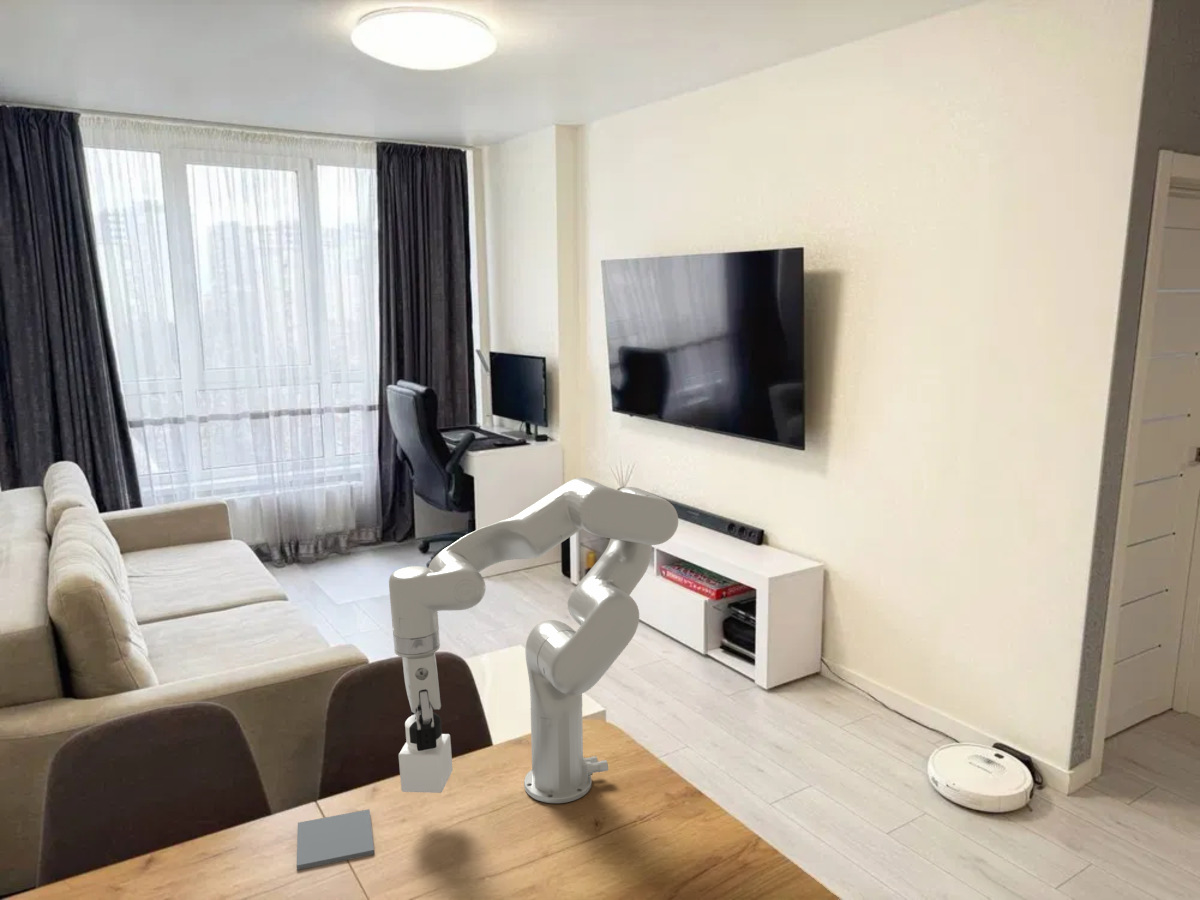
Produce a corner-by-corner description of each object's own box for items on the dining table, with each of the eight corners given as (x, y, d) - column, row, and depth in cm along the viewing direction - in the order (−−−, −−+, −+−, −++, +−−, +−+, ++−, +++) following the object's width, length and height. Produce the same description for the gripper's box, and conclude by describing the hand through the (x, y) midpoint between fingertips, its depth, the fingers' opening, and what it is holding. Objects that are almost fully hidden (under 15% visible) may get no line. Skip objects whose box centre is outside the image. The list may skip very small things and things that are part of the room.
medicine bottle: (453, 770, 151) (448, 707, 148) (441, 793, 144) (436, 728, 141) (414, 769, 151) (409, 707, 149) (400, 792, 144) (395, 727, 142)
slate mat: (369, 813, 151) (369, 809, 151) (374, 854, 139) (374, 849, 139) (298, 826, 147) (297, 822, 147) (296, 870, 136) (296, 865, 136)
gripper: (446, 656, 136) (454, 759, 139) (432, 619, 152) (439, 712, 155) (398, 664, 133) (407, 769, 137) (389, 625, 150) (397, 719, 153)
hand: (424, 738), depth 146 cm, fingers closed on medicine bottle, 6 cm apart
